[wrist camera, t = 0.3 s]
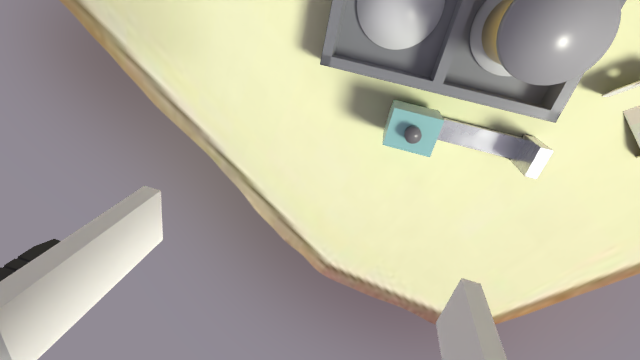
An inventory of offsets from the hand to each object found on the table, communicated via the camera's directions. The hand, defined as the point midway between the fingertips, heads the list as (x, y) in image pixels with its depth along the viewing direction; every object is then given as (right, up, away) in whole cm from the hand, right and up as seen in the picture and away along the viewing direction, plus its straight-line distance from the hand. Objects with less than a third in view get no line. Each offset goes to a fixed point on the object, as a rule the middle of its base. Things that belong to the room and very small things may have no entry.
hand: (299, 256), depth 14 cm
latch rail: (+16, +9, +22) cm, 29 cm away
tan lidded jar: (+20, +18, +16) cm, 31 cm away
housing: (+14, +19, +18) cm, 30 cm away
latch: (+11, +10, +22) cm, 26 cm away
